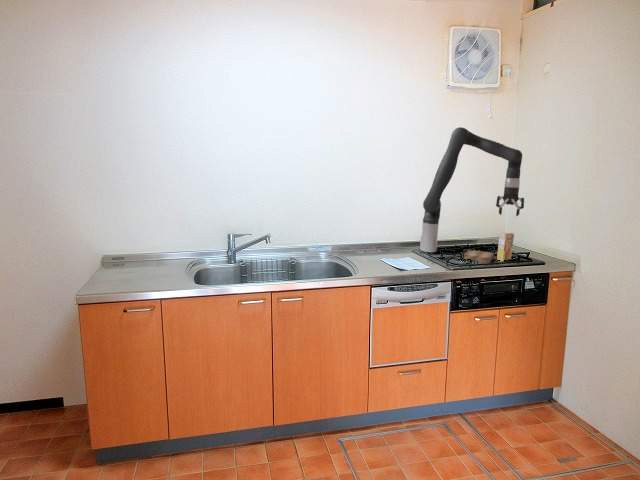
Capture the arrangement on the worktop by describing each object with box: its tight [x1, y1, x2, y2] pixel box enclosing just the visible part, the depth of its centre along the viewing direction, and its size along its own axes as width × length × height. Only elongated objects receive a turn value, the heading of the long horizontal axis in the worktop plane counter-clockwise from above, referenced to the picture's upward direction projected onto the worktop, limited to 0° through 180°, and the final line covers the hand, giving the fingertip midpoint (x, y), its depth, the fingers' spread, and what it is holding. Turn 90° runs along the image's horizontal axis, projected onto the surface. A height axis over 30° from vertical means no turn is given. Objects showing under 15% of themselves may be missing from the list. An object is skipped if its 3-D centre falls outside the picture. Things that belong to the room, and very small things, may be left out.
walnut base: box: [463, 249, 494, 264], centre depth 266 cm, size 14×14×3 cm
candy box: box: [496, 232, 515, 262], centre depth 264 cm, size 9×4×15 cm, turn 129°
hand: (508, 215), depth 260 cm, fingers open, 8 cm apart
